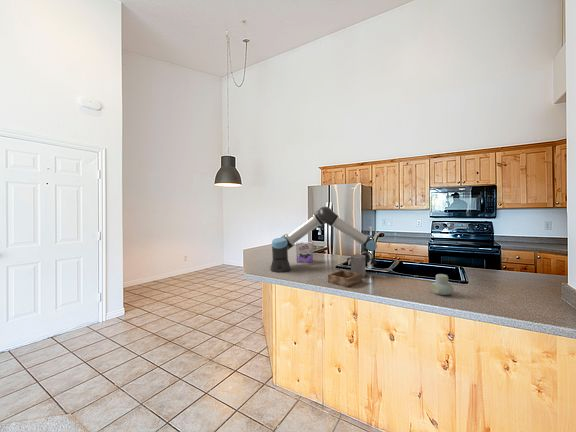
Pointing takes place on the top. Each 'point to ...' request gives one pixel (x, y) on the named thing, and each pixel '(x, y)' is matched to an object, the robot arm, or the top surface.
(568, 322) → the top surface
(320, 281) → the top surface
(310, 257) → the candy box
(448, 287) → the air freshener
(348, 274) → the walnut crate
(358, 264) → the pillar candle
